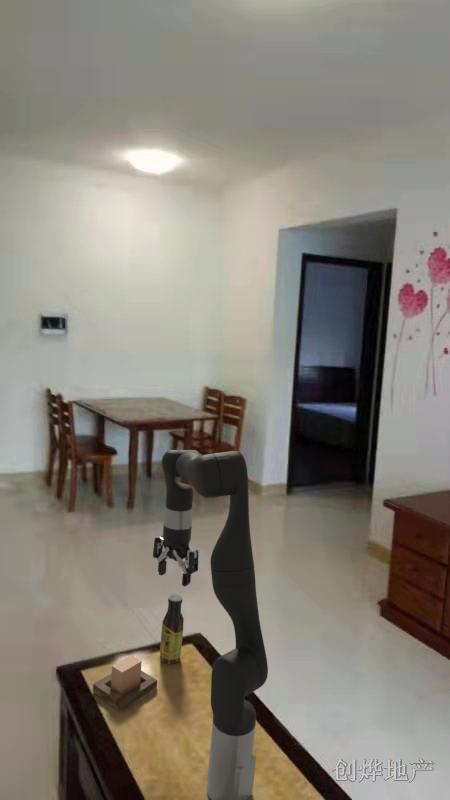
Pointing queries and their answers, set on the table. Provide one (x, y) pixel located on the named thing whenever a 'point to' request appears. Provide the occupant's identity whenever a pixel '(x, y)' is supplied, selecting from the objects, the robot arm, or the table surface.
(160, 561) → the robot arm
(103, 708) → the table surface
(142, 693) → the cradle
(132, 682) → the key block
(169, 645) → the sauce bottle
